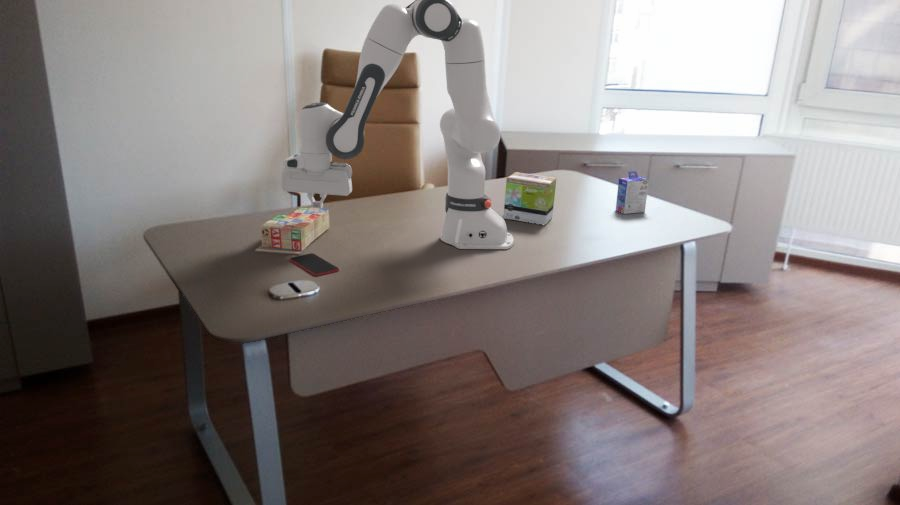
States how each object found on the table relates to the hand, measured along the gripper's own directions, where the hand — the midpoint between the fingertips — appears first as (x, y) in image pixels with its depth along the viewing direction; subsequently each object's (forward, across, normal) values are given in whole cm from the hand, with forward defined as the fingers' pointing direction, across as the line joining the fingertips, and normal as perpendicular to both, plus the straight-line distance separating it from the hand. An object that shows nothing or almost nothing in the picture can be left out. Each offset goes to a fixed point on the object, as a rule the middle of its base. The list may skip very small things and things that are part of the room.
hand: (317, 207), depth 189 cm
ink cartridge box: (+10, -100, -55) cm, 114 cm away
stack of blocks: (+7, 0, 0) cm, 7 cm away
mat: (+10, +8, 0) cm, 13 cm away
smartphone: (+11, -4, +19) cm, 22 cm away
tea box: (+10, -62, -37) cm, 73 cm away
